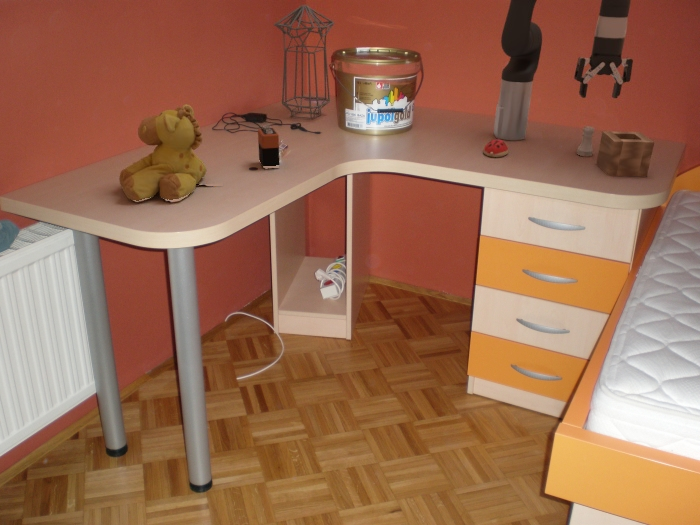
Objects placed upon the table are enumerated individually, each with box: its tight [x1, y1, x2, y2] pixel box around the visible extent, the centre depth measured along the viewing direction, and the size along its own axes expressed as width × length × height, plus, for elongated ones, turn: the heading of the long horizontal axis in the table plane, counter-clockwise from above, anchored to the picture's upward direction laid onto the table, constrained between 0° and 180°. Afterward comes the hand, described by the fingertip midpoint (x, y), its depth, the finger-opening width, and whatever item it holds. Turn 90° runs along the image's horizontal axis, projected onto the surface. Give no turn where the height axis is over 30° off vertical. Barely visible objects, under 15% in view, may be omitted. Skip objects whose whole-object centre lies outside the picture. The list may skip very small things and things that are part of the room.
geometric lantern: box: [273, 4, 335, 120], centre depth 213 cm, size 16×16×35 cm
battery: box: [257, 124, 280, 166], centre depth 171 cm, size 4×7×10 cm, turn 17°
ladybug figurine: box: [482, 138, 509, 158], centre depth 185 cm, size 7×10×4 cm
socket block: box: [595, 130, 655, 177], centre depth 173 cm, size 10×10×9 cm
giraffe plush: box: [118, 103, 208, 201], centre depth 152 cm, size 20×24×19 cm
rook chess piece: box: [576, 125, 595, 158], centre depth 185 cm, size 4×4×8 cm
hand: (598, 97), depth 178 cm, fingers open, 8 cm apart
